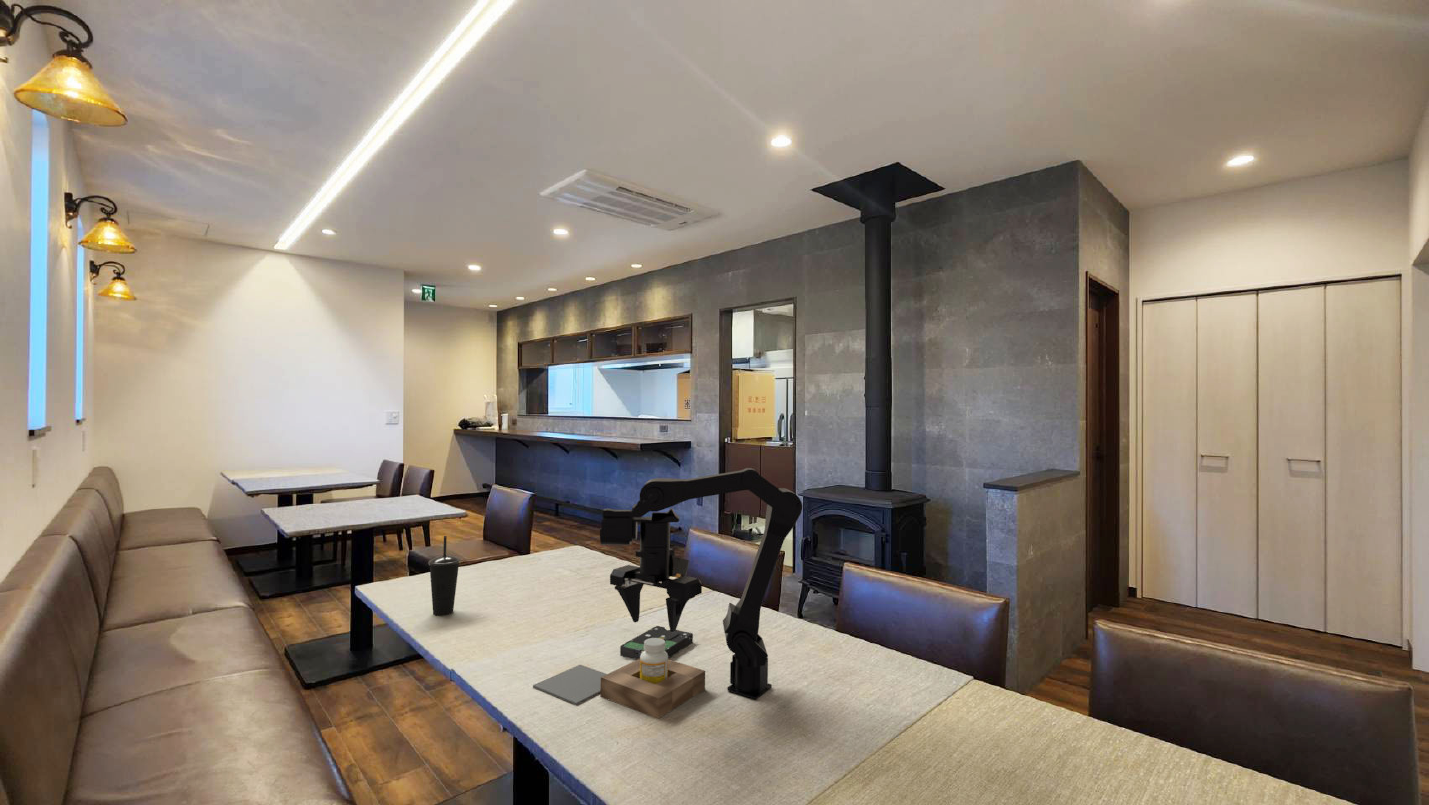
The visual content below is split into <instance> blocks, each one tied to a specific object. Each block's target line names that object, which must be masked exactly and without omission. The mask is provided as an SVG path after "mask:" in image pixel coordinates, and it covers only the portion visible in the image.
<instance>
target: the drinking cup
mask: <svg viewBox="0 0 1429 805" xmlns="http://www.w3.org/2000/svg"><path fill="white" fill-rule="evenodd" d="M447 538H448V537H447V535H444V536H443V551H442V552H443V553H442V555H440V556H439V555H438V556H436V557H434V558H433V559H430V560H428V565H429V571H430V572H429V574H430V586H431V588H430V589H431V590H430V591H431V603H432V613H433V614H432V615H434V616H439V617H440V616H447V615H451V614H453V613H454V608H455V598H456V591H457V581H458V575H459V565H460V562H461V558H459V557H456V556H454V555H448V554H447ZM452 612H453V613H452Z"/></svg>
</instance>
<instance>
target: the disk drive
mask: <svg viewBox="0 0 1429 805" xmlns="http://www.w3.org/2000/svg"><path fill="white" fill-rule="evenodd" d="M693 637H694V634H693V632H690V631H689V632H687V631H682V630H679V629H676V630H675V631H674V632H671V631H670V629H666V628H665V626H660V625H656V626H654V627H652V628H650V629H648V630H646V631H644V632H643V633H641V634H639V635H638V636H636V637H634V638H632V639H630V640H628V641H627V642H625V643H623V644H621V645H620V647H619V649H620V650H619V651H620V652H619V653H620V654H619V655H620V656H621V657H624V658H628V659H633V660H635V661H636V660H638V659H640V656H641V654H642V652H644V651H645V650H644V641H645V640H647V639H650V638H660V639H663V640H664V641H665V649H664V651H666V652H667V654H668V659H670V658H672V657H673V656H674V655H676V654H678V653H679V652H681V651H682V650H684V649H685V648H687V647H688V646H690V645H691V644H693V642H694V638H693Z"/></svg>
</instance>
